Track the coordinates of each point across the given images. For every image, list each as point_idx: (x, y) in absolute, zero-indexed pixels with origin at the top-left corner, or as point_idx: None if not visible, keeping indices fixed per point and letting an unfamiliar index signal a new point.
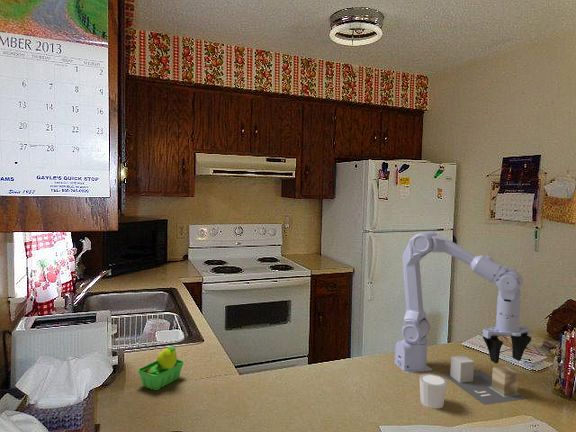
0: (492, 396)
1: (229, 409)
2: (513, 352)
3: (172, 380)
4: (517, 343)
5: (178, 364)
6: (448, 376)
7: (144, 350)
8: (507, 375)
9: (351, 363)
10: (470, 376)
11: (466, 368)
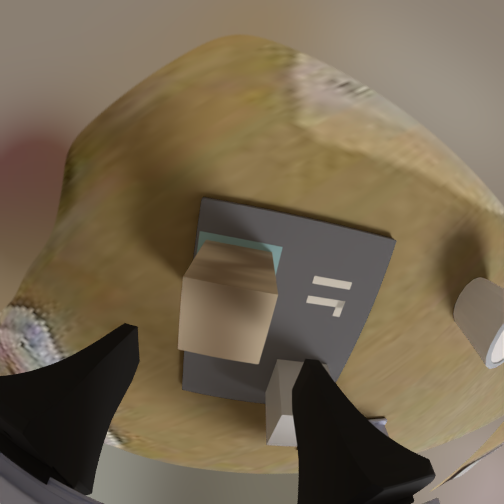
0: (319, 266)
1: None
2: (125, 384)
3: None
4: (88, 423)
5: None
6: None
7: (498, 445)
8: (260, 288)
9: (414, 447)
10: (290, 372)
11: None
